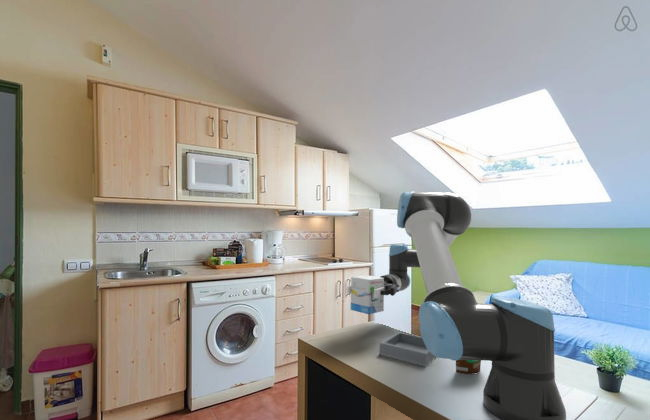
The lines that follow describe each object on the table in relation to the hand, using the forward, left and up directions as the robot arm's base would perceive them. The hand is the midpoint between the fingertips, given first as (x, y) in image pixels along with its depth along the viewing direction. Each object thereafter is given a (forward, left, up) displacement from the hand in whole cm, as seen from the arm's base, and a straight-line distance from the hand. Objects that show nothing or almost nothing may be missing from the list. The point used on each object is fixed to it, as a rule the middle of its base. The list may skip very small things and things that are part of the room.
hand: (361, 291), depth 111 cm
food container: (0, -35, -17) cm, 39 cm away
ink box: (+4, 0, -7) cm, 8 cm away
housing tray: (+1, -17, -17) cm, 24 cm away
